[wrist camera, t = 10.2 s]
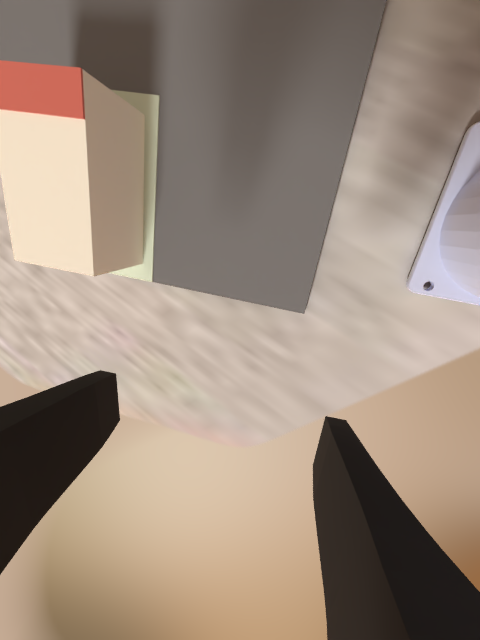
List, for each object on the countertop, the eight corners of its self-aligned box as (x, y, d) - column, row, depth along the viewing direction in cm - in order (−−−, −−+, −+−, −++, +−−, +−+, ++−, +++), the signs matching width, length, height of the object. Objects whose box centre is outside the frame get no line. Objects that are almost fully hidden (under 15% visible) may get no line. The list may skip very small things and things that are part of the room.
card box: (142, 263, 17) (92, 276, 13) (80, 251, 18) (12, 260, 13) (144, 114, 14) (80, 67, 10) (70, 106, 15) (-21, 58, 10)
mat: (389, -17, 11) (394, -30, 11) (304, 311, 17) (304, 314, 16) (-11, -39, 14) (-24, -50, 13) (28, 253, 19) (20, 254, 19)
